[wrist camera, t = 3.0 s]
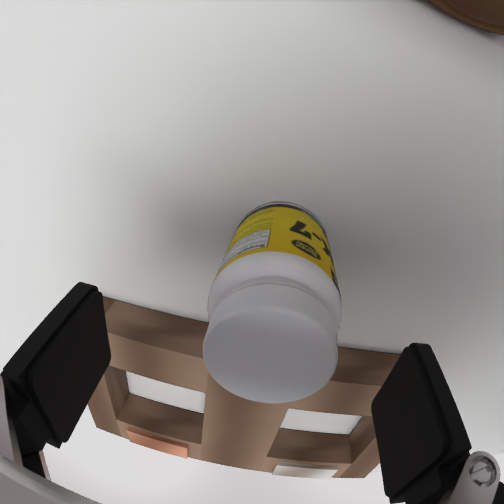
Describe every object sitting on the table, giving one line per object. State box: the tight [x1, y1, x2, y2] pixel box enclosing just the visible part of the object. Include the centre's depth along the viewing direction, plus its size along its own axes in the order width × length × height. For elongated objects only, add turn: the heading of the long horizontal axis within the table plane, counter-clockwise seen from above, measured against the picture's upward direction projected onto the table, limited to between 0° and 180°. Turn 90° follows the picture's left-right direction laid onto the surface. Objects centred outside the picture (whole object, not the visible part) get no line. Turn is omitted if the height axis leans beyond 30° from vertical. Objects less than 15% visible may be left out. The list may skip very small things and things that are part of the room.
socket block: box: [88, 297, 400, 479], centre depth 20 cm, size 24×13×3 cm, turn 81°
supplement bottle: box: [203, 202, 342, 403], centre depth 13 cm, size 5×5×8 cm
